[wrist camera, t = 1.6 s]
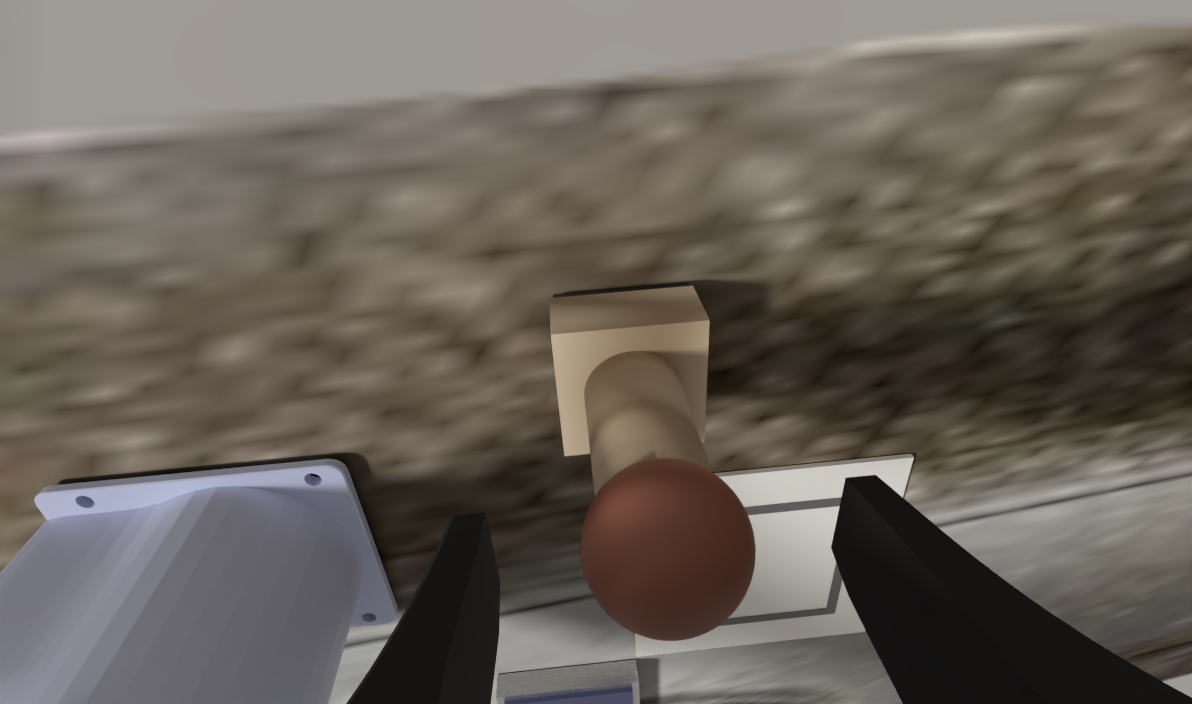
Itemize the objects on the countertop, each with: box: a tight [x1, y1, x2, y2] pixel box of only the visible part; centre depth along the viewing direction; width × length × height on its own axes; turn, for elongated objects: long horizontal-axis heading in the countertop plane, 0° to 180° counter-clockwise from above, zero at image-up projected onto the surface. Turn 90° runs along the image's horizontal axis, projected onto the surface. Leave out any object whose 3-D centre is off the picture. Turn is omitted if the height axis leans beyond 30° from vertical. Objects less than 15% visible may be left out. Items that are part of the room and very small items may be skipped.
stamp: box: [550, 283, 756, 641], centre depth 15 cm, size 4×4×9 cm
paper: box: [635, 454, 914, 657], centre depth 24 cm, size 10×10×1 cm
